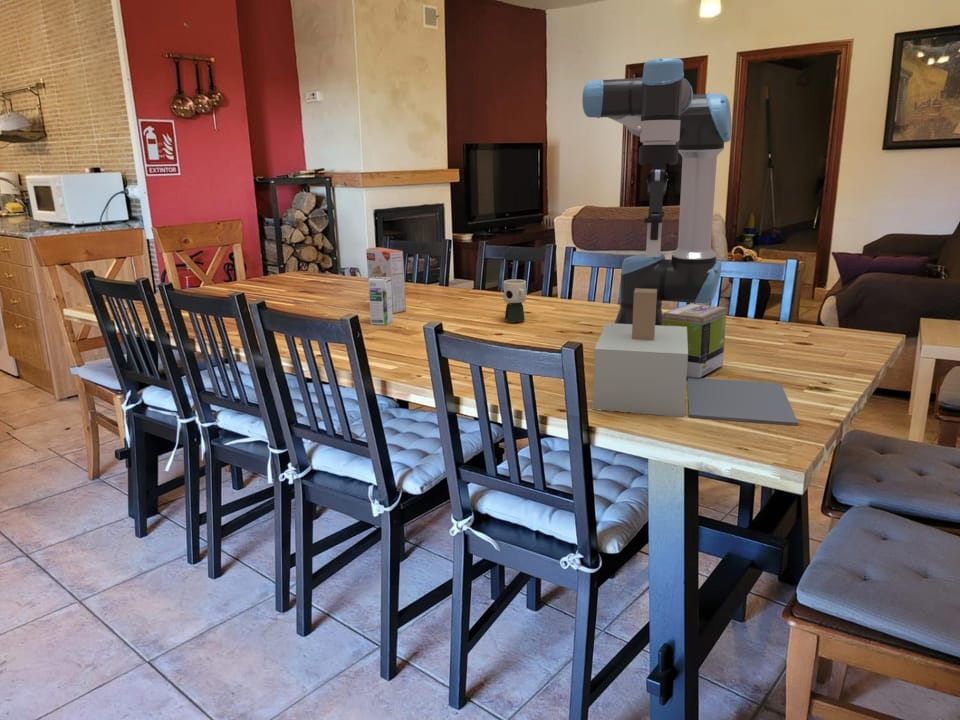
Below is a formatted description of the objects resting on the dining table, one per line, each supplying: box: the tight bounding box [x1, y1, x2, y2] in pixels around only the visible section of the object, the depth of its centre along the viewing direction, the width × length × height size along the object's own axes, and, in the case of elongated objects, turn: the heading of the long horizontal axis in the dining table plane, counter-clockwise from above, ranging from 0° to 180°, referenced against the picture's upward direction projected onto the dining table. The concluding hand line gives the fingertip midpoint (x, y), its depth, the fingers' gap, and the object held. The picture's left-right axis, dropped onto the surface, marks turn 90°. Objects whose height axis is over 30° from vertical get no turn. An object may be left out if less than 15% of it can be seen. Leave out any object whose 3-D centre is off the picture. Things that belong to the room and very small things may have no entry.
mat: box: [687, 377, 799, 427], centre depth 147 cm, size 25×20×1 cm
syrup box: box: [367, 277, 394, 326], centre depth 220 cm, size 6×6×14 cm
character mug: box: [502, 279, 527, 324], centre depth 219 cm, size 11×7×13 cm, turn 26°
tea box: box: [662, 303, 727, 378], centre depth 166 cm, size 15×10×15 cm, turn 141°
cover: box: [592, 288, 688, 418], centre depth 149 cm, size 23×18×23 cm
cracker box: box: [365, 246, 407, 315], centre depth 238 cm, size 14×6×21 cm, turn 42°
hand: (653, 252), depth 143 cm, fingers open, 13 cm apart
